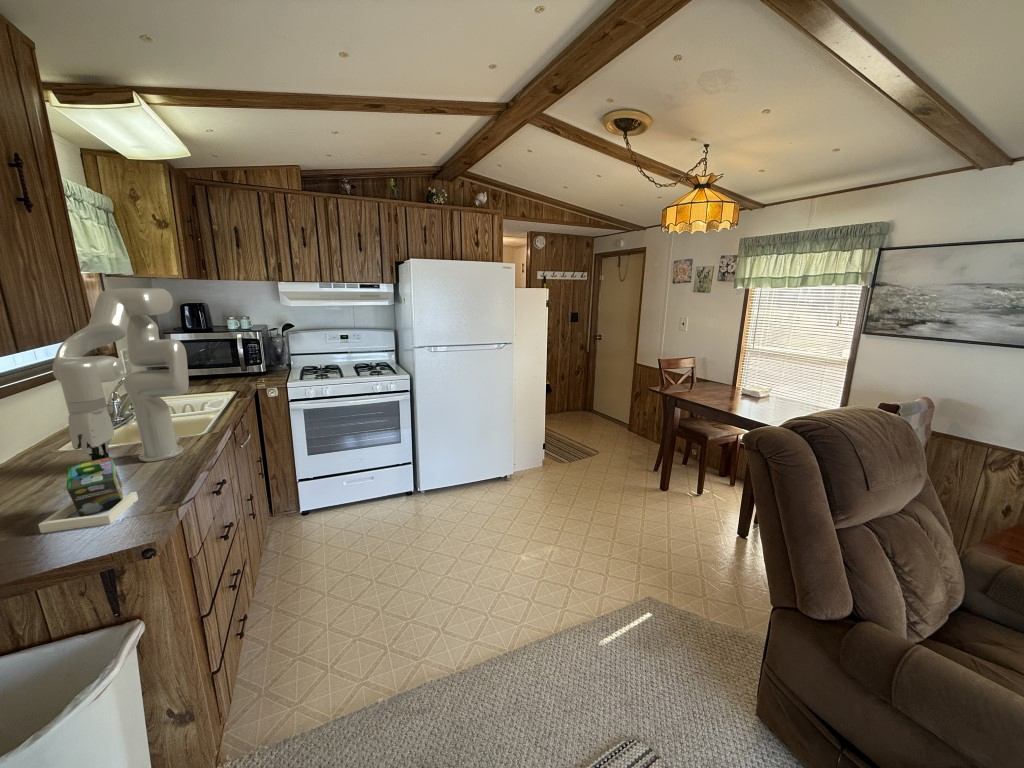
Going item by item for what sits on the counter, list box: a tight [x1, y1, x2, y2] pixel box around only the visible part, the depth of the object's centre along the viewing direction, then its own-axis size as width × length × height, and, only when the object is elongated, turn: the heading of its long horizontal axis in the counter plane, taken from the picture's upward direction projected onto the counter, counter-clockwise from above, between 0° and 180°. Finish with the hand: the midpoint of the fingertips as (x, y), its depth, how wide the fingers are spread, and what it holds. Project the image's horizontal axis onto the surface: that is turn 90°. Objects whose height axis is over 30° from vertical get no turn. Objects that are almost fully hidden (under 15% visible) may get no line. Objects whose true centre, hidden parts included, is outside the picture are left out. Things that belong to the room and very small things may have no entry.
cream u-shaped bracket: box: [38, 491, 139, 534], centre depth 113 cm, size 13×14×2 cm
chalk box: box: [66, 456, 124, 517], centre depth 113 cm, size 9×9×15 cm
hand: (102, 467), depth 118 cm, fingers closed
